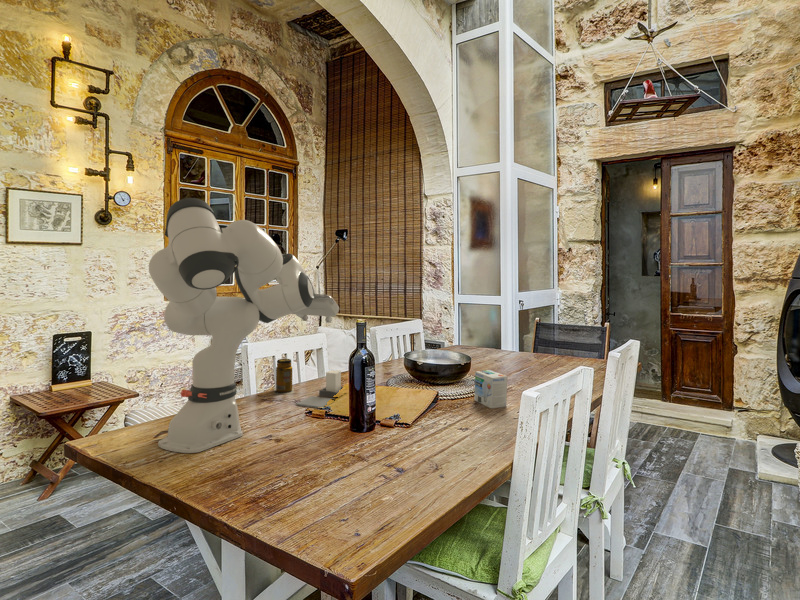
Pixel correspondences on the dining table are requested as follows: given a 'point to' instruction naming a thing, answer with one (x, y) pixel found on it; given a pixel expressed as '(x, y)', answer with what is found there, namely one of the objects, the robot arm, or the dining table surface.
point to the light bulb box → (490, 388)
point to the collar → (327, 392)
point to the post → (333, 381)
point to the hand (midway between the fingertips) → (317, 320)
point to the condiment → (284, 377)
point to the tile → (314, 402)
